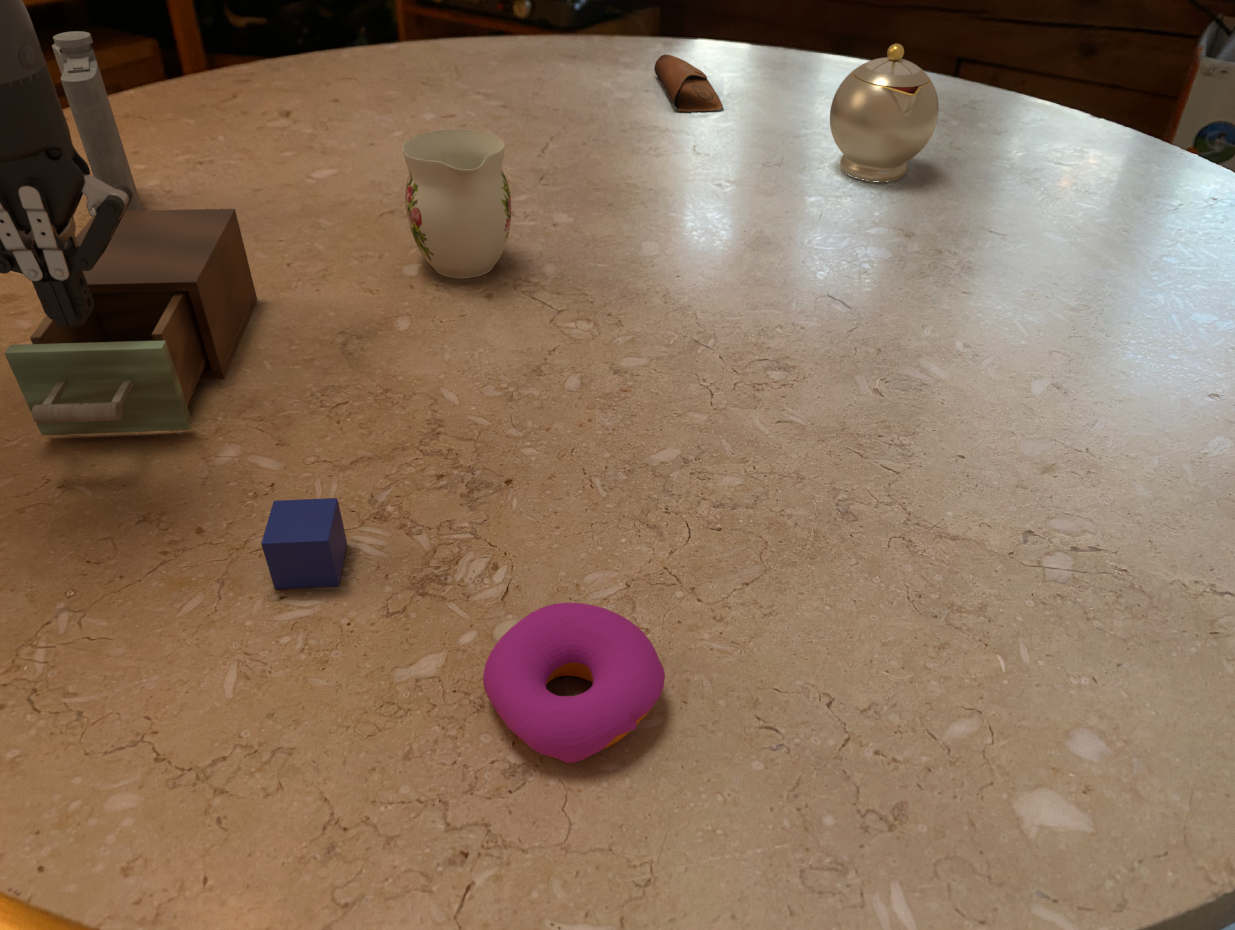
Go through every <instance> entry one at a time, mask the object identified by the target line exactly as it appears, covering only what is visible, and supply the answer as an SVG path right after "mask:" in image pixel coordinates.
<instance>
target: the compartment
mask: <svg viewBox="0 0 1235 930" xmlns="http://www.w3.org/2000/svg"><path fill="white" fill-rule="evenodd" d="M91 295H92V297H93V300H94V309H93V310H92V312H91V313H90V315H89V317H88V319H87V320H86V322H85V323H84V325H83V326H79V327H59V326H58V325H57V323H56V321H55V319H50V318H49V317H48V316H47V315H46V316H45V317H44V318H43V319H42V321H41V322H40V324H38V326H37V327H36V329H35V330H34V331H33V333H32V334H31V336H30V337H29V339H30V341H31V343H29V344H28V343H27V344H26V343H25V344H10V345H9V346H8V347H7V348H6V349H5V351H4V356H5V358H6V360H7V362H8V364H9V367H10V369H11V371H12V373H13V376H14V378H15V380H16V383H17V384H18V386H19V389H20V391H21V393H22V395H23V398H24V400H25V403H26V404H27V407H28V409H29V411H30V413H31V418H32V421H33V423H35V424H36V426H37V428H38V430H39V433H40V435H41V436H58V435H60V436H61V435H62V436H63V435H88V434H89V435H90V434H113V433H115V434H117V433H140V432H141V433H145V432H170V431H189V430H190V428H191V426H192V423H193V420H192V416H191V414H190V411H189V408H188V404H189V402H190V400H191V398H192V396H193V394H194V391H195V389H196V387H197V385H198V383H199V381H200V380H199V378H200V376H201V374H202V371H203V369H204V367H205V365H206V363H207V360H208V356H207V353H206V350H205V346H204V343H203V340H202V336H201V333H200V329H199V326H198V323H197V319H196V316H195V313H194V309H193V306H192V302H191V299H190V296H189V292H188V291H173V292H131V293H91Z"/></svg>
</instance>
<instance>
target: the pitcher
mask: <svg viewBox="0 0 1235 930" xmlns="http://www.w3.org/2000/svg"><path fill="white" fill-rule="evenodd" d="M505 150H506V144H505V142H504V140H503V139H502V138H500V136H497V135H495V134H493V133H490V132H487V131H484V130H479V129H471V128H444V129H436V130H431V131H426V132H422V133H419V134H417V135H414V136H411V137H410V138H409V139H407V140H406V141H405V142H404V143H403V145H402V147H401V151H402V155H403V158H404V160H405V164H406V167H407V170H408V176H407V181H406V186H405V195H404V197H405V199H404V200H405V209H406V216H407V221H408V224H409V229H410V232H411V234H412V237H413V240H414V241H415V244H416V245H417V248H418V249H419V251H420V253H421V255H422V256H423V258H424V259H425V261H426V262H427V263H428V264H429V265H430V266H431V267H432V268H433V269H434V271H435V272H436V273H438V274H439V275H442V276H444V277H447V278H451V279H471V278H477V277H480V276H483V275H485V274H487V273H489V272H491V271H492V270H493V268H494V267H495V265H496V264H497V262H498V261H499V260H500V258H501V256H502V254H503V252H504V250H505V247H506V245H507V242H508V239H509V238H508V237H509V234H510V229H511V228H510V227H511V222H512V197H511V192H510V187H509V184H508V180H507V177H506V175H505V172H504V170H503V166H504V165H503V164H504V156H505Z"/></svg>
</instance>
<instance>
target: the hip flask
mask: <svg viewBox="0 0 1235 930" xmlns="http://www.w3.org/2000/svg"><path fill="white" fill-rule="evenodd" d="M52 39H53V42H54V43H53V44H52V45H51V47H52V50H53V51H52V52H53V53H54V57H55V60H56V63H57V66H58V69H59V72H60V75H61V76H60V81H61V85H62V87H63V90H64V93H65V96H66V99H67V102H68V105H69V108H70V111H71V114H72V117H73V121H74V124H75V126H76V129H77V132H78V135H79V138H80V141H81V144H82V147H83V150H84V153H85V156H86V159H87V163H88V166H89V169H90V172H91V173H92V174H91V175H92V176H94V177H95V178H97V179H99V180H101V181H102V182H104V183H106V184H108V185H109V186H111V187H113V188H114V187H115V186H117V185H125V186H127V187H128V188H129V189H130V190H131V191H132V193H133V198H132V200H131V202H130V204H129V206H128V208H127V210H126V211H135V210H144V209H143V206H142V202H141V199H140V196H139V193H138V190H137V187H136V184H135V183H136V182H135V180H134V177H133V174H132V170H131V166H130V164H129V161H128V157H127V154H126V152H125V148H124V144H123V141H122V138H121V135H120V132H119V127H118V125H117V122H116V119H115V116H114V111H113V109H112V106H111V102H110V100H109V95H108V93H107V90H106V87H105V83H104V80H103V77H102V73H101V70H100V67H99V64H98V61H97V57H96V55H95V51H94V48H93V46H92V45H91V44H93V43H94V41H93V38H92V35H91V33H90V32H87V31H81V30H80V31H79V30H77V31H76V30H75V31H66V32H61V33H58V34H55V35H54V36H52Z"/></svg>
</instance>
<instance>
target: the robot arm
mask: <svg viewBox="0 0 1235 930" xmlns="http://www.w3.org/2000/svg"><path fill="white" fill-rule="evenodd" d="M83 195H84V196H85V197H86V209H87V211H88V214H89V215H90V216H91V217H92V216H93V217H95V218H94V220H93V222H92V224H91V226H90V228H89V230H88V232H87V234H86V236H85V238H84V240H83V242H82V244H81V245H80V246H78V244H77V241H76V229H77V228H76V222H75V218H74V215H75V213H76V211H77V209H78V207H79V204H80V202H81V201H82V197H83ZM132 198H133V193H132V191H131V190H130V189H129V188H128V187H127V186H125V185H117V186H115V187H114V188H113V187H111V186H109V185H108V184H106V183H104V182H102V181H101V180H99V179H97V178H95V177H94V176H93V174H91V168H90V165H89V163H88V162H87V161H86V160H85V159H84V158H83V157H82V156H81V155H80V154H79V152H78V151H77V149H76V148H75V147H74V144H73V141H72V136H71V132H70V128H69V124H68V122H67V118H66V115H65V113H64V110H63V107H62V104H61V102H60V99H59V95H58V93H57V90H56V87H55V85H54V82H53V79H52V76H51V73H50V70H49V67H48V64H47V62H46V59H45V56H44V53H43V50H42V47H41V44H40V41H39V39H38V36H37V33H36V30H35V27H34V24H33V21H32V18H31V16H30V13H29V11H28V9H27V7H26V5H25V3H24V1H23V0H0V274H1V275H2V274H3V275H5V274H6V275H7V274H9V273H10V272H15V273H18V274H21V275H23V276H24V277H25V278H26V279H27V280H29V281H31V283H32V285H33V288H34V290H35V293H36V295H37V298H38V300H39V302H40V305H41V307H42V310H43V312H44V314H45V315H46V316H48V317H49V318H50V319H55V321H56V323H57V325H58V326H59V327H79V326H83V325H84V323H85V322H86V320H87V319H88V317H89V315H90V313H91V312H92V310H93V309H94V300H93V297H92V295H91V292H90V290H89V286H88V284H87V281H86V278H85V276H84V273H83V271H90V270H91V269H92V268H93V267H94V266H95V264H96V263H97V262H98V260H99V259H100V257H101V256H102V255H103V253H104V252H105V250H106V248H107V246H108V244H109V242H110V240H111V239H112V237H113V235H114V233H115V231H116V229H117V227H118V225H119V223H120V221H121V219H122V217H123V215H124V214H125V212H126V210H127V208H128V206H129V204H130V202H131V200H132Z"/></svg>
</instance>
